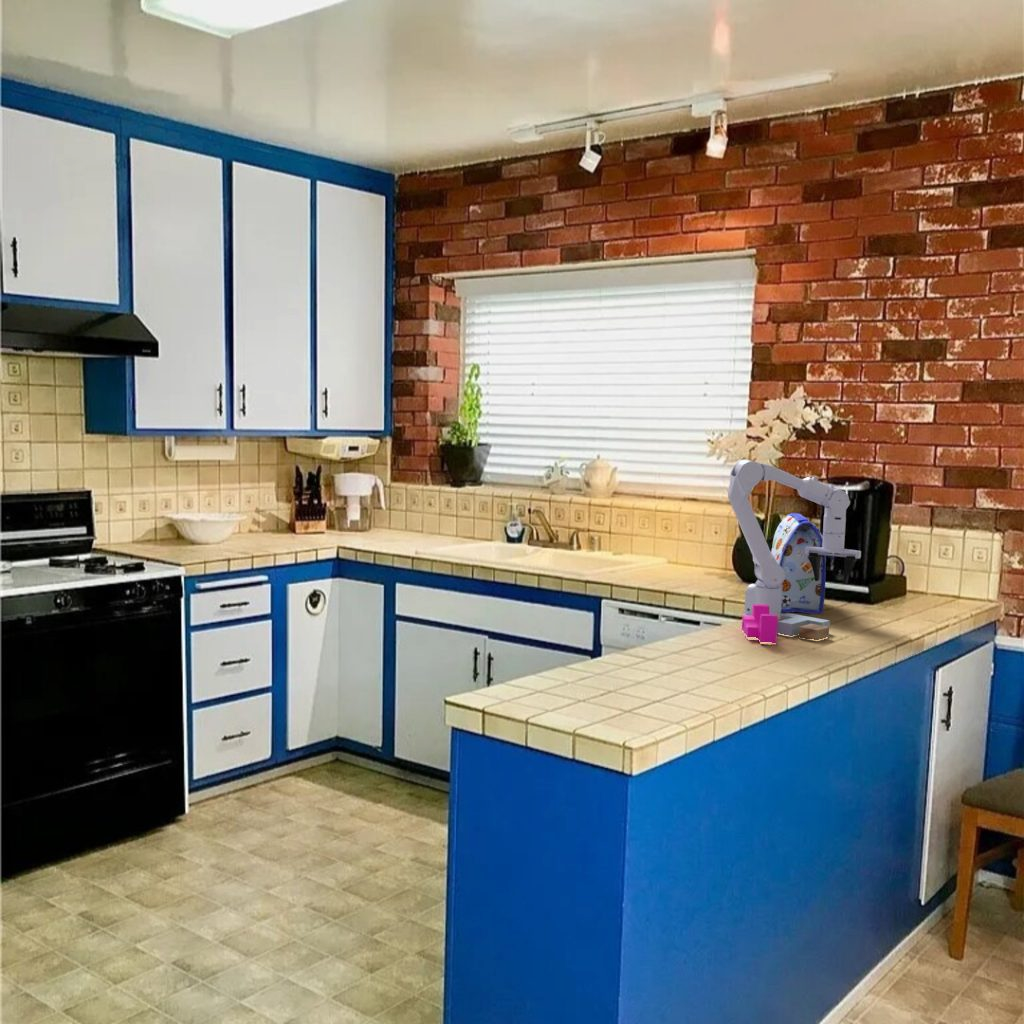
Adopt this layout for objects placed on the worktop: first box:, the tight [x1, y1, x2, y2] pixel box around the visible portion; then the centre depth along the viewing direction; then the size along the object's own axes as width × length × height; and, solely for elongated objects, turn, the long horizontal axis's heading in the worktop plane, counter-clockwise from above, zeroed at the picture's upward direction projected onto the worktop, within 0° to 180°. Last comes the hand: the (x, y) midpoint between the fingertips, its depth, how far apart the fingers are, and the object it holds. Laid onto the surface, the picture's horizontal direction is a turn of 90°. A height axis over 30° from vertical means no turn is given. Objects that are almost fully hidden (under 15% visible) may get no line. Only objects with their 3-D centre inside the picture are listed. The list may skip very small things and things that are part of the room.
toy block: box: [741, 604, 778, 644], centre depth 259 cm, size 15×6×8 cm, turn 175°
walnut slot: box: [777, 618, 830, 640], centre depth 265 cm, size 18×6×3 cm, turn 45°
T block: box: [777, 612, 831, 636], centre depth 266 cm, size 12×12×4 cm
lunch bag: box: [770, 512, 835, 615], centre depth 302 cm, size 23×17×27 cm
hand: (831, 582), depth 284 cm, fingers open, 7 cm apart
